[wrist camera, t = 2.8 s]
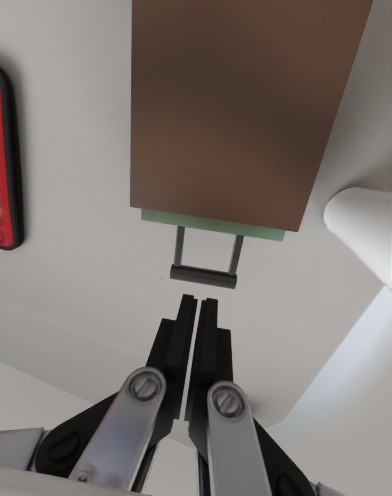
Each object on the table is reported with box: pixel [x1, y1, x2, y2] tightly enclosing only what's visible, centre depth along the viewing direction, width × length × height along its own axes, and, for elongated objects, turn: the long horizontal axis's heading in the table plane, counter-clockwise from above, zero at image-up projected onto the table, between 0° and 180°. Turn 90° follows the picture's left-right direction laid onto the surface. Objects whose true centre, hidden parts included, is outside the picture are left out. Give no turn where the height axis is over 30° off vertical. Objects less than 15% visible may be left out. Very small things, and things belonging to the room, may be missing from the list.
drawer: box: [141, 209, 285, 289], centre depth 20 cm, size 19×11×8 cm, turn 173°
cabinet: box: [130, 0, 373, 232], centre depth 18 cm, size 15×13×10 cm
